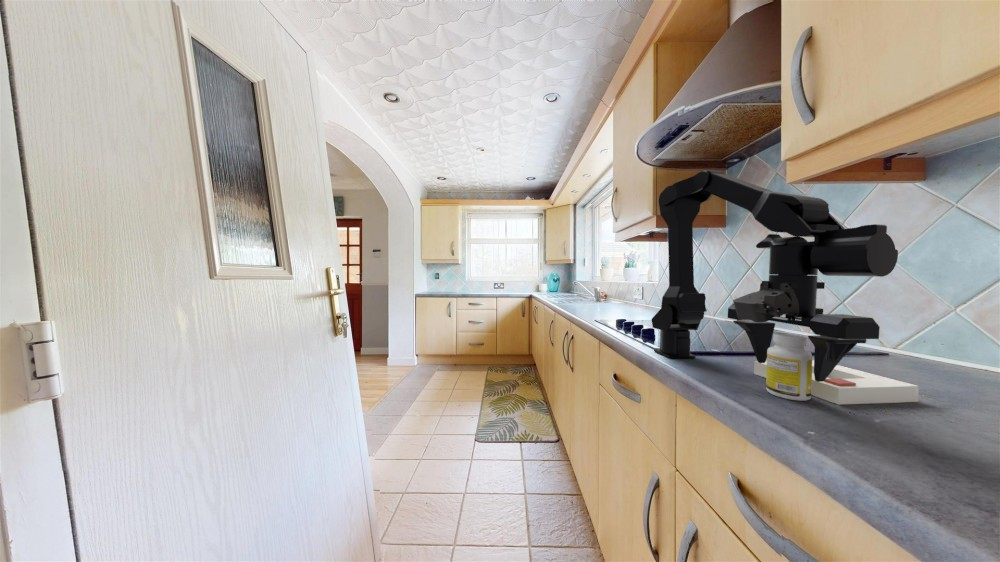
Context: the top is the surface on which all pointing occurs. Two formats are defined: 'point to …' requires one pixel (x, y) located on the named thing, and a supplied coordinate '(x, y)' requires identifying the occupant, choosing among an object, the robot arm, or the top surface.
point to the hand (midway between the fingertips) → (787, 371)
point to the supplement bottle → (789, 367)
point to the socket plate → (856, 387)
